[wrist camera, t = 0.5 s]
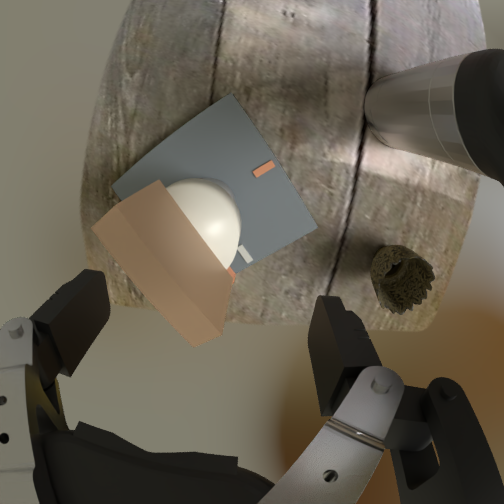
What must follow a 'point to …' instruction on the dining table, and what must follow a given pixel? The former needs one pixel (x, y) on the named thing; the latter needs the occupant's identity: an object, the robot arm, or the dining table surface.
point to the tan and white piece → (178, 251)
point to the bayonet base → (229, 177)
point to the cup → (400, 278)
